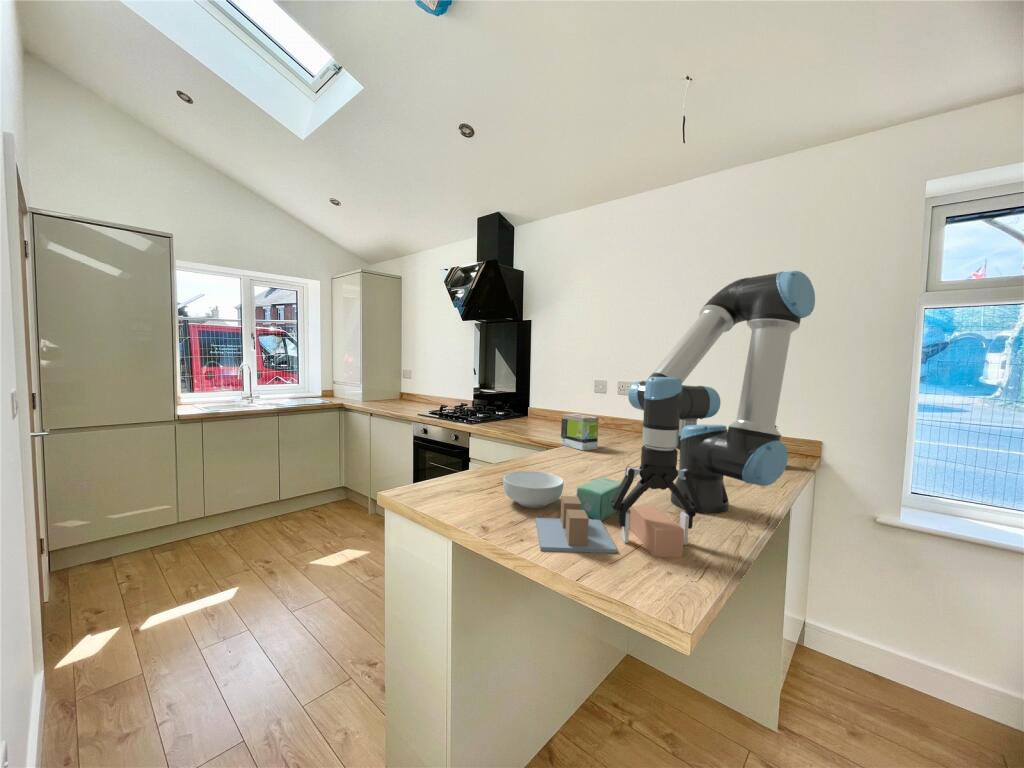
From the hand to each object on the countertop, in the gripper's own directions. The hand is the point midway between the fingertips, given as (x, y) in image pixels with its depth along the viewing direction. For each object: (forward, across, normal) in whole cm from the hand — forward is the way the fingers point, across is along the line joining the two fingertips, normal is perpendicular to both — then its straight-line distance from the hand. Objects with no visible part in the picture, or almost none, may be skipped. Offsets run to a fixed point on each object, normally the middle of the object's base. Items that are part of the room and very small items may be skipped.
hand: (654, 541), depth 94 cm
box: (+1, +8, -18) cm, 20 cm away
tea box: (0, 0, -101) cm, 101 cm away
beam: (0, 0, 0) cm, 0 cm away
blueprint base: (0, +18, -2) cm, 18 cm away
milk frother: (0, -49, -108) cm, 119 cm away
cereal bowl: (+1, +26, -23) cm, 35 cm away
